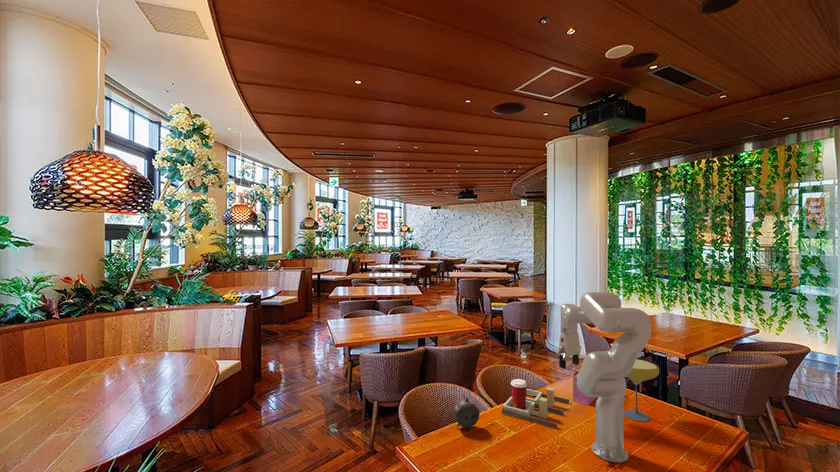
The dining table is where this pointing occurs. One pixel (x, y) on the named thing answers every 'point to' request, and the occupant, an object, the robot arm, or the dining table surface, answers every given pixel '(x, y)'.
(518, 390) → the paper cup
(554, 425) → the lane rails
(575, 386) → the gum box
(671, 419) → the dining table surface
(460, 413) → the alarm clock
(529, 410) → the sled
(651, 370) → the cocktail glass
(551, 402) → the square frame with handle
